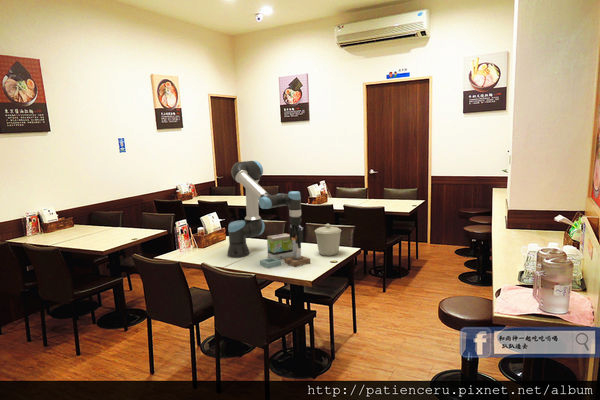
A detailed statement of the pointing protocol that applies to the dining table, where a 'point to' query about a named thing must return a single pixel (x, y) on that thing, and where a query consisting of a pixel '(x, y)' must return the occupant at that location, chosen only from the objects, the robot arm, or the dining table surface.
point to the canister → (328, 240)
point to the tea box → (279, 246)
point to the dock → (297, 261)
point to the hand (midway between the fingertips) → (296, 252)
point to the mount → (270, 262)
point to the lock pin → (295, 249)
